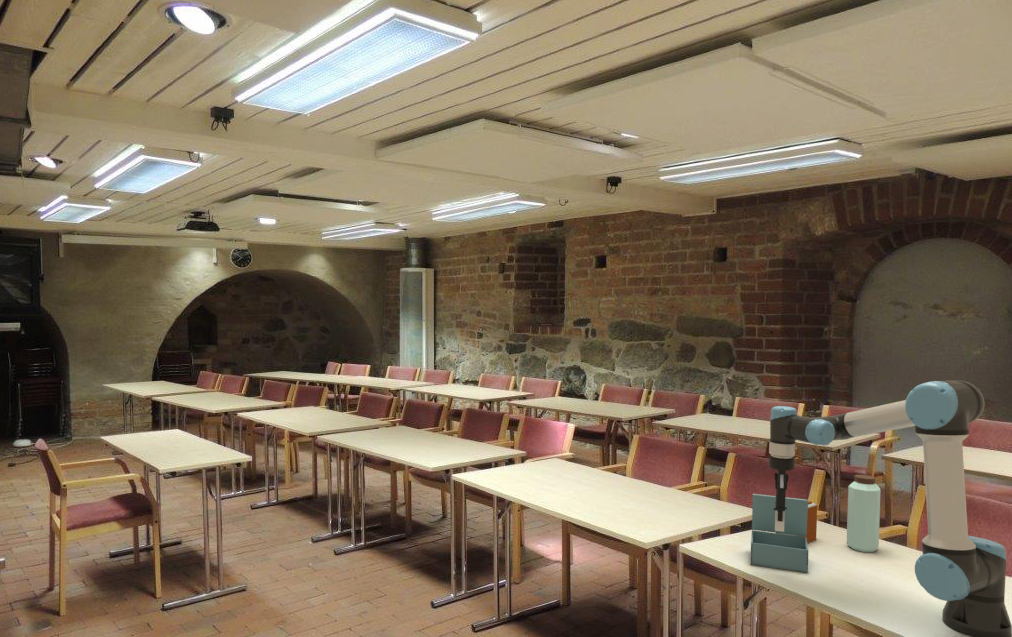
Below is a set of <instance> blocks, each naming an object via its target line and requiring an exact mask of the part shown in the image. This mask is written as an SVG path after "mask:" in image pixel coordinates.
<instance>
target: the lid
mask: <svg viewBox="0 0 1012 637" xmlns="http://www.w3.org/2000/svg"><path fill="white" fill-rule="evenodd" d="M808 501H809V499H804V498H794V497H786V496H785V507H787V509H785V521H784V532H782V531H775V510H774V508H776V507H775V506H776V504H775V502H776V495H769V494H767V495H766V494H757V493H752V506H751V508H752V511H751V512H752V513H751V514H752V516H751V531H752V530H754V531H762V532H769V533H782V534H790V535H798V536H806V531H807V514H808Z"/></svg>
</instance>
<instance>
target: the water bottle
mask: <svg viewBox="0 0 1012 637" xmlns="http://www.w3.org/2000/svg"><path fill="white" fill-rule="evenodd" d="M876 479H877V478H876V477H875V476H873V475H867V474H855V475H853V482H851V483H850V484H849V485H848V486H847V488H848V489H847V490H848V491H847V492H848V493H847V518H846V520H847V522H846V545H847V546H848V548H850V547H851V548H850V549H852V550H853V549H854V550H853V551H857V550H858V551H857V552H861V553H874V552H876V550H877V549H878V548H879V544H880V517H881V514H880V513H881V488H880V487H879V485H878V484H877V483H876V482H877V481H876Z"/></svg>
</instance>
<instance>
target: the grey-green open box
mask: <svg viewBox="0 0 1012 637" xmlns="http://www.w3.org/2000/svg"><path fill="white" fill-rule="evenodd" d="M750 537H751V539H750V565H751V566H756V567H757V566H758V567H765V568H772V569H780V570H786V571H793V572H799V573H809V546H808V544H807V539H806V537H801V536H793V535H785V534H777V533H774V532H766V531H758V530H752V529H751V536H750Z"/></svg>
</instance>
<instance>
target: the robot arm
mask: <svg viewBox="0 0 1012 637" xmlns="http://www.w3.org/2000/svg"><path fill="white" fill-rule="evenodd" d="M985 403H986V402H985V398H984V396H983V393H982V392H981V391H980V389H979V388H978V387H977V386H975V385H974V384H973V383H970V382H969V381H965V380H960V379H958V380H956V379H953V380H939V381H937V380H934V381H928V382H923V383H920V384H919V385H916V386H915V387H914V388H912V390H910V391H909V393H908V394H907V396H906V399H904V400H900V401H895V402H890V403H887V404H881V405H876V406H873V407H868V408H864V409H858V410H854V411H850V412H845V413H841V414H835V415H828V416H817V417H809V416H807V417H806V416H802V415H801V416H800V415H798V413H797V409H796V408H795V407H792V406H783V405H777V406H773V407H772V408H771V410H770V419H769V425H770V427H769V429H770V430H769V431H770V432H769V434H770V436H769V448H768V453H769V454H770V455H769V457H768V467H769V468H770V469H772V470H777V471H776V472H774V477H773V478H774V481H775V482H774V486H775V487H774V488H775V496H776V502H775V504H776V506H775V507H776V508H774V510H775V531H782V532H784V521H785V509H787V507H785V497H786V496H787V495H786V494H787V493H786V491H787V490H788V482H789V474H788V473H786V472H787V471H789V472H790V471H793V470H795V468H796V466H795V465H796V462H795V461H796V458H795V457H794V456H796V450H797V449H798V446H796V441H800V442H803V443H808V444H812V445H815V446H818V445H819V446H828V445H830V443H832V442H833V441H840V440H841V441H844V440H845V441H846V440H849V439H852V438H857V437H861V436H867V435H868V436H869V435H872V434H879V433H884V432H888V431H894V430H900V429H906V428H911V427H914V428H915V435H916V436H917V437H918V438H920V439H921V441H922V448H923V451H922V452H923V465H924V481H925V482H924V483H925V484H924V486H925V498H926V499H925V501H926V516H927V518H926V519H927V535H925V537H924V538H922V540H921V545H922V546H921V549H922V550H921V552H922V554H920V556H919V557H918V558H917V559H916V561H915V564H914V573H915V574H914V575H915V577H916V579H917V582H918V583H919V585H920V586H921V587H922V589H924V590H925V591H926V593H928V594H929V595H930V596H932V597H934V598H935V599H938V600H940V601H946V602H945V605H944V606H943V609H942V617H941V620H942V621H943V622H944V624H946V626H948V627H950V628H951V629H953V630H955V631H958V633H959V632H960V633H963V634H965V635H968V636H972V637H1012V622H1011V619H1010V616H1009V613H1008V610H1007V607H1006V606H1007V605H1006V604H1005V603H1006V602H1005V596H1006V595H1005V593H1006V577H1007V576H1006V573H1007V571H1006V570H1007V561H1008V559H1007V550H1006V547H1005V546H1003V545H1002V544H1001V543H998V542H997V541H993V540H990V539H987V538H982V537H977V536H973V535H969V533H968V532H969V529H968V527H969V526H968V515H967V514H968V513H967V512H968V511H967V497H966V496H967V495H966V480H965V462H964V450H963V449H964V448H963V442H964V440H966V439H967V438H968V437H969V435H970V432H969V429H970V428H969V424H971V423H972V422H973V423H974V422H975V421H977V420H978V418H980V417H981V416H982V414H983V413H984V410H985Z"/></svg>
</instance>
